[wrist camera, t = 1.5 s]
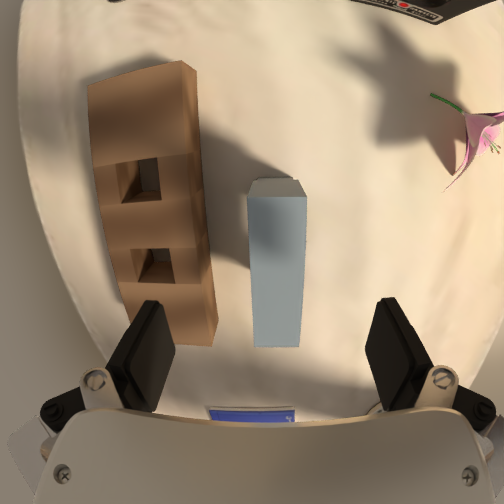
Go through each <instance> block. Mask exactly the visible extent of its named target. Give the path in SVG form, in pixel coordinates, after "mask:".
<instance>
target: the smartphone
mask: <svg viewBox="0 0 504 504" xmlns="http://www.w3.org/2000/svg"><path fill="white" fill-rule="evenodd" d="M109 1H110V2H112V3H118V2H122V1H125V0H109Z"/></svg>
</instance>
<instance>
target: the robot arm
mask: <svg viewBox="0 0 504 504" xmlns="http://www.w3.org/2000/svg"><path fill="white" fill-rule="evenodd" d="M365 352H366V356H367V359H368V362H369V365H370V368H371V371H372V374H373V377H374V380H375V384H376V387H377V390H378V394H379V397H380V400H381V402H380V403H379V404H377V405H376V406H375V407H374V408H372V409H371V410H370V411H369V412H368V414H367V415H365V416H358V417H351V418H342V419H333V420H322V421H307V422H282V423H253V422H229V421H214V420H202V419H193V418H184V417H177V416H169V415H162V414H156V413H152V412H154V411H155V410H156V408H157V405H158V402H159V399H160V396H161V393H162V390H163V387H164V384H165V381H166V378H167V375H168V372H169V370H170V367H171V364H172V361H173V358H174V355H175V345H174V342H173V338H172V335H171V332H170V328H169V325H168V321H167V318H166V314H165V310H164V307H163V305H162V304H160V303H159V301H157V300H145V301H144V303H143V305H142V306H141V308H140V310H139V311H138V313H137V315H136V316H135V318H134V320H133V321H132V323H131V325H130V326H129V328H128V329H127V330H126V332H125V333H124V335H123V337H122V339H121V340H120V342H119V344H118V346H117V347H116V349H115V351H114V353H113V355H112V356H111V358H110V360H109V362H108V364H107V366H106V367H105V369H104V368H101V367H95V368H91V369H89V370H87V371H86V372H85V373H84V374H83V375H82V377H81V378H80V387H78V388H75V389H73V390H71V391H68V392H66V393H64V394H62V395H59V396H57V397H54V398H52V399H50V400H48V401H46V402H45V403H44V404H43V406H42V408H41V411H40V416H39V417H37V416H34V417H33V418H32V419H31V420H29V421H28V422H26V423H25V424H24V425H23V426H21V427H20V428H19V429H17V430H16V431H15V432H14V433H12V434H11V435H10V437H9V439H8V448H9V451H10V453H11V455H12V457H13V459H14V461H15V463H16V464H17V466H18V468H19V470H20V472H21V473H22V475H23V477H24V479H25V480H26V482H27V483H28V485H29V487H30V488H31V490H32V491H33V493H34V495H35V497H34V501H33V504H496V502H495V498H496V497H497V495H498V494H499V492H500V491H501V489H502V488H503V486H504V417H503V416H501V415H499V416H497V415H496V408H495V405H494V404H493V402H492V401H491V400H490V399H488V398H486V397H484V396H482V395H480V394H477V393H475V392H473V391H471V390H469V389H467V388H464V387H462V386H460V385H458V382H459V379H458V375H457V374H456V372H455V371H454V370H453V369H452V368H450V367H448V366H444V365H437V366H434V365H433V363H432V361H431V359H430V357H429V355H428V354H427V352H426V350H425V348H424V346H423V344H422V342H421V340H420V339H419V337H418V335H417V333H416V331H415V329H414V328H413V326H412V325H411V324H410V323H409V321H408V319H407V317H406V316H405V314H404V312H403V310H402V309H401V307H400V305H399V304H398V302H397V300H396V299H395V298H394V297H389V298H382V299H381V301H379V302H377V305H376V309H375V313H374V317H373V321H372V324H371V328H370V332H369V335H368V338H367V342H366V345H365Z"/></svg>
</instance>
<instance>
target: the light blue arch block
mask: <svg viewBox="0 0 504 504" xmlns="http://www.w3.org/2000/svg"><path fill="white" fill-rule="evenodd" d="M247 211H248V231H249V252H250V272H251V293H252V312H253V332H254V347H299V342H300V330H301V318H302V304H303V289H304V271H305V250H306V222H307V196H306V194H305V192H304V190H303V188H302V186H301V184H300V182H299V181H298V180H293V178H292V177H272V178H258V179H257V180H253V182H252V185H251V188H250V190H249V193H248V196H247Z"/></svg>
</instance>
